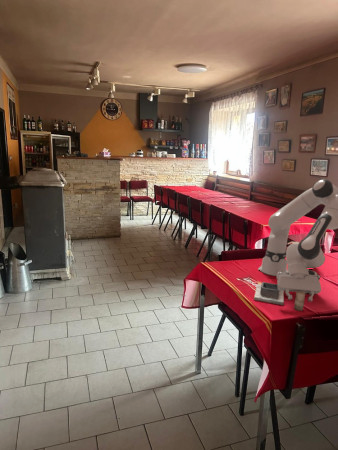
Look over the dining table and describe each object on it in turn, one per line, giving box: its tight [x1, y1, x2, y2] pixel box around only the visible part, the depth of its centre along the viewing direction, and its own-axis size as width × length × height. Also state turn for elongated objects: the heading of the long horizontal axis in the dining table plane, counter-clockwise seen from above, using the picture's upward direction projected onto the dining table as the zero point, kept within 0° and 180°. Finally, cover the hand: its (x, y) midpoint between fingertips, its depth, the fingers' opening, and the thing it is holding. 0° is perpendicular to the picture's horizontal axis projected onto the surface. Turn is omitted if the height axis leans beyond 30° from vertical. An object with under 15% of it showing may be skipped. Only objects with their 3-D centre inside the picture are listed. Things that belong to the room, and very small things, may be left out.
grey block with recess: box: [253, 281, 285, 306], centre depth 175 cm, size 20×14×5 cm
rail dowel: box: [293, 291, 306, 312], centre depth 160 cm, size 4×4×8 cm
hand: (300, 300), depth 159 cm, fingers open, 8 cm apart
